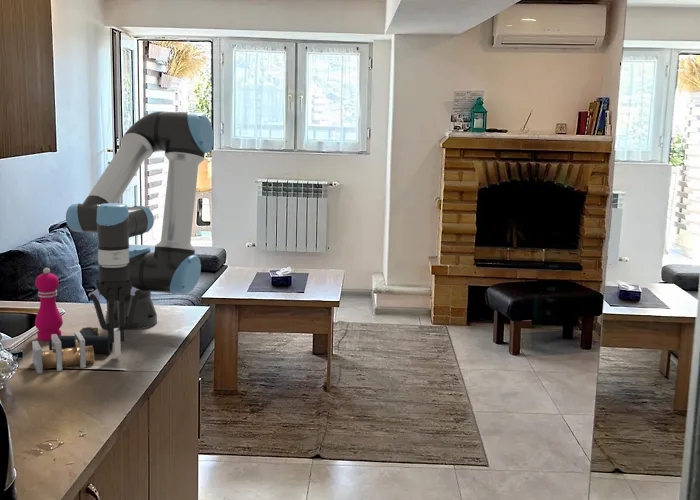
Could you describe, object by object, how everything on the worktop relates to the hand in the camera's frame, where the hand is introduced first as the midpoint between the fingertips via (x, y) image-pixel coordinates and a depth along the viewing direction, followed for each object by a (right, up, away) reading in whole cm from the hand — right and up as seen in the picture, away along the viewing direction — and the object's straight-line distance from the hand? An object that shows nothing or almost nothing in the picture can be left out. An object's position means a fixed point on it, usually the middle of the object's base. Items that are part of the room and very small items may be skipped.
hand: (116, 353), depth 191 cm
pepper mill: (-24, +2, +16) cm, 29 cm away
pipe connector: (-11, 0, +7) cm, 13 cm away
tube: (-10, -2, -6) cm, 12 cm away
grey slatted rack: (-12, -2, -7) cm, 14 cm away
